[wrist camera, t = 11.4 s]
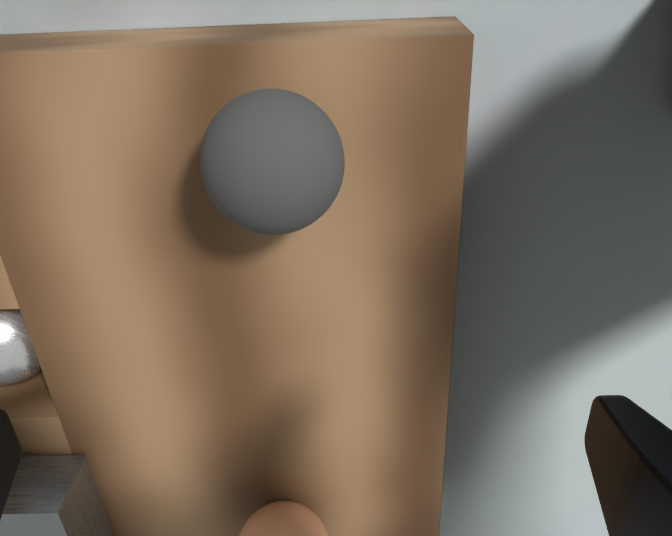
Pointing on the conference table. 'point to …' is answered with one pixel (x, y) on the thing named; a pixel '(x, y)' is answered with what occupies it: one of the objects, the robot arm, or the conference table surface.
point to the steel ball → (15, 348)
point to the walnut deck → (236, 274)
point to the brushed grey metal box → (54, 499)
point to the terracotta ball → (284, 521)
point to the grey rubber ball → (272, 161)
